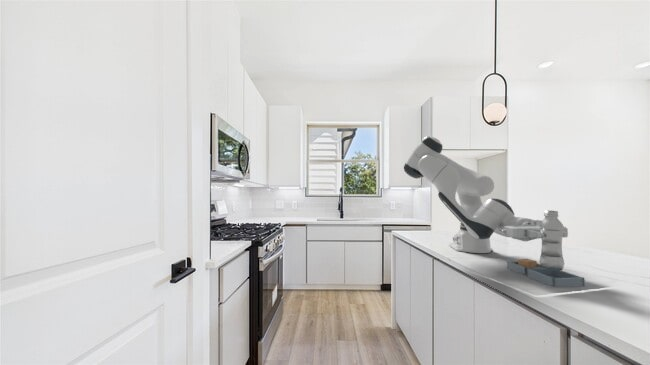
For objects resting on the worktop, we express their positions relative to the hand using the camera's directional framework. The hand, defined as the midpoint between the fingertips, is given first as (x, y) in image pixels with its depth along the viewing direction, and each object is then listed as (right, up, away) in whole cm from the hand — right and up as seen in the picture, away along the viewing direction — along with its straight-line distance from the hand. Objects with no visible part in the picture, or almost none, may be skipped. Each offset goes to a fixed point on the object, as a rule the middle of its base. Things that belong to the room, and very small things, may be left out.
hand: (553, 235), depth 93 cm
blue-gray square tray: (0, -16, +12) cm, 20 cm away
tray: (0, -16, 0) cm, 16 cm away
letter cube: (0, -16, +12) cm, 20 cm away
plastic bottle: (0, -12, +1) cm, 12 cm away
